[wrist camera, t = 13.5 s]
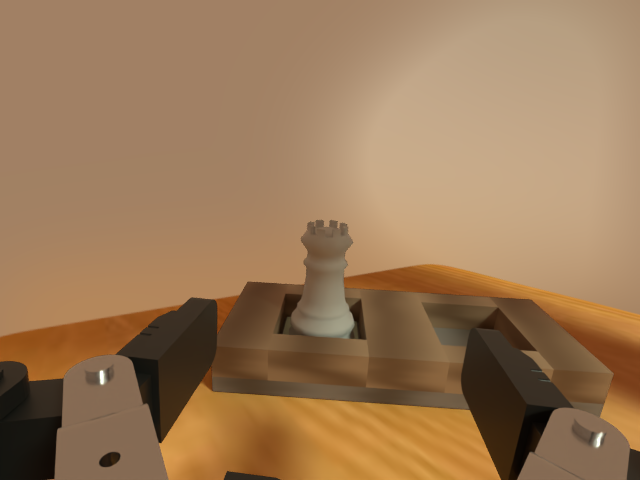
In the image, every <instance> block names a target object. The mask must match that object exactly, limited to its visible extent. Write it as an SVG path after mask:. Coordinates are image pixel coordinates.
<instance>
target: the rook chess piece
mask: <svg viewBox="0 0 640 480" xmlns="http://www.w3.org/2000/svg"><path fill="white" fill-rule="evenodd" d="M323 225H324V221H323V220H316V226H315V227H314V222H309V223H308V225H307V231H306V233H305V234H304V235H303V236H302V237H301V241H302V243H303V244H304V246H305V247H306V249H307V250H308V255H307V258H306V259H305V260H304V265H305V266H306V267H307V269H306V280H305V285H304V290H303V295H302V298H301V300H300V301H299V302H298V303H297V308H296V309H295V310H294V311H293V312H292V315H291V318H290V324H291V327H290V329H289V335H301V336H316V337H331V338H346V339H354V338H355V336H354V332H353V327H354V326H355V324H354V319H353V316H352V313H351V312H350V311H349V306H348V304H347V303H346V301H345V293H344V269H345V268H346V266H347V265H348V264H347V261H346V260H345V258H344V257H345V252H346V250H347V249H348V248H349V247H350V246H351V245H352V243H353V241H352V239H351V237H350V236H349V234H348V227H347V224H345V223H340V229H338V228H337V221H332V220H330V225H329V227H323Z"/></svg>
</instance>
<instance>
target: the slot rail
mask: <svg viewBox="0 0 640 480" xmlns="http://www.w3.org/2000/svg"><path fill="white" fill-rule="evenodd" d="M303 290H304V285H292V284H277V283H261V282H247V284H246V286H245V287H244V289H243V291H242V293H241V294H240V296H239V298H238V300H237V301H236V303H235V305H234V307H233V308H232V310H231V312H230V313H229V315H228V317H227V319H226V320H225V322H224V324H223V326H222V327H221V329H220V331H219V332H218V334H217V349H216V354H215V358H214V361H213V363H212V388H213V391H219V392H233V393H247V394H261V395H275V396H289V397H302V398H316V399H330V400H344V401H358V402H372V403H386V404H400V405H413V406H427V407H441V408H455V409H469V406H468V404H467V402H466V400H465V397H464V395H463V392H462V387H461V373H462V367H463V362H464V357H465V352H466V347H467V341H468V336H469V333H470V330H471V329H472V328H481V329H490V330H499V331H500V332H501V333H502V334H503V336H504V337H505V338H506V339H507V341H508V342H509V343H510V344H511V346H512V347H513V348H517V349H519V350H520V351H522V352H523V353H525V354H526V355H528V356H529V357H531V358H532V359H533V360H534V361H535V362H536V363H537V365H538V366H539V367H540V368H541V369H542V372H544V373H545V374H546V375H547V376H548V378H549V379H550V382H553V384H554V385H555V386H556V387H557V388H558V389H559V391H560V392H561V393H562V394H563V395H564V397H565V398H566V399H567V400H568V401H569V402H570V404H571V405H572V406H573V407H574V408H575V409H578V410H582V411H585V412H588V413H591V414H593V415H595V416H597V417H600V415H601V412H602V409H603V405H604V402H605V399H606V396H607V393H608V390H609V387H610V384H611V381H612V378H613V375H614V373H613V372H612V371H610V370H609V369H608V368H607V367H606V366H605V365H604V364H603V363H602V362H600V361H599V360H598V359H597V358H596V357H595V356H594V355H593V354H591V353H590V352H589V351H588V350H587V349H586V348H585V347H584V346H582V345H581V344H580V343H579V342H578V341H577V340H576V339H575V338H574V337H572V336H571V335H570V334H569V333H568V332H567V331H566V330H565V329H563V328H562V327H561V326H560V325H559V324H558V323H557V322H556V321H554V320H553V319H552V318H551V317H550V316H549V315H548V314H547V313H545V312H544V311H543V310H542V309H541V308H540V307H539V306H538V305H537V304H535V303H534V302H533V301H532V300H529V299H513V298H497V297H482V296H466V295H450V294H434V293H419V292H403V291H387V290H371V289H356V288H344V293H345V301H346V303H347V304H348V306H349V311H350V312H351V313H352V316H353V319H354V324H355V326H354V327H353V332H354V336H355V338H354V339H346V338H331V337H316V336H301V335H289V329H290V327H291V324H290V318H291V315H292V312H293V311H294V310H295V309H296V308H297V303H298V302H299V301H300V300H301V298H302V295H303ZM469 410H470V409H469Z"/></svg>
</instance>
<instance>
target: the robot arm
mask: <svg viewBox="0 0 640 480" xmlns="http://www.w3.org/2000/svg"><path fill="white" fill-rule="evenodd" d="M216 349H217V303H216V301H215V300H211V299H202V298H190V299H189V300H188V301H187V302H186V303H185V304H184V305H182V306H181V307H180V308H179V309H178V310H177V311H170V312H168V313H166V314H164V315H162V316H159V317H157V318H156V319H155V320H154V321H153V322H152V323H151V324H149V325H148V328H147V327H146V328H145V329H144V330H143V331H142V332H140V335H137V336H136V337H135V338H134V339H132V340H131V341H130V342H129V343H128V344H127V345H126V346H125V347H123V348H122V349H121V350H120V351H119V352H118V353H117V354H115V355H102V356H97V357H93V358H90V359H87V360H84V361H82V362H80V363H78V364H76V365H75V366H73V367H72V368H71V369H69V370H68V371H67V373H66V374H65V376H64V378H63V379H52V380H40V381H29V378H28V371H27V367H26V366H25V365H24V364H22V363H19V362H13V361H4V362H0V480H48V479H54V480H168V476H167V472H166V469H165V465H164V461H163V457H162V454H161V450H160V446H159V443H162V441H163V440H164V438H165V437H166V435H167V434H168V432H169V430H170V429H171V427H172V426H173V424H174V423H175V421H176V420H177V418H178V416H179V415H180V413H181V412H182V410H183V409H184V407H185V406H186V404H187V402H188V401H189V399H190V398H191V396H192V395H193V393H194V391H195V390H196V388H197V387H198V385H199V384H200V382H201V381H202V379H203V377H204V376H205V374H206V373H207V371H208V370H209V368H210V367H211V365H212V363H213V361H214V358H215V354H216ZM461 387H462V392H463V395H464V397H465V400H466V402H467V404H468V406H469V409H470V411H471V413H472V415H473V418H474V420H475V422H476V424H477V427H478V429H479V431H480V433H481V436H482V438H483V440H484V442H485V444H486V447H487V449H488V451H489V453H490V456H491V458H492V460H493V462H494V465H495V467H496V469H497V471H498V474H499V476H500V478H501V480H640V452H639V451H636V450H633V449H630V445H629V443H628V441H627V439H626V438H625V436H624V435H623V434H622V433H621V432H620V431H619V430H618V429H617V428H615V427H614V426H613V425H611V424H610V423H608V422H607V421H605V420H603V419H601V418H600V417H597V416H595V415H593V414H591V413H588V412H585V411H582V410H578V409H575V408H574V407H573V406H572V405H571V404H570V402H569V401H568V400H567V399H566V398H565V397H564V395H563V394H562V393H561V392H560V391H559V389H558V388H557V387H556V386H555V385H554V384H553V382H550V379H549V378H548V376H547V375H546V374H545V373H544V372H542V369H541V368H540V367H539V366H538V365H537V363H536V362H535V361H534V360H533V359H532V358H531V357H529V356H528V355H526V354H525V353H523V352H522V351H520V350H519V349H517V348H513V347H512V346H511V344H510V343H509V342H508V341H507V339H506V338H505V337H504V336H503V334H502V333H501V332H500V331H499V330H490V329H481V328H472V329H471V330H470V333H469V336H468V341H467V347H466V352H465V357H464V362H463V367H462V373H461ZM224 480H280V479H278V478H273V477H266V476H258V475H251V474H244V473H236V472H229V471H227V473H226V475H225V478H224Z"/></svg>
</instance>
